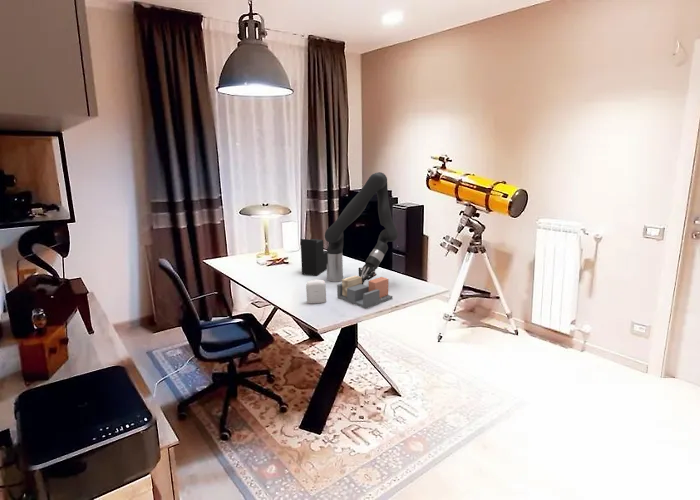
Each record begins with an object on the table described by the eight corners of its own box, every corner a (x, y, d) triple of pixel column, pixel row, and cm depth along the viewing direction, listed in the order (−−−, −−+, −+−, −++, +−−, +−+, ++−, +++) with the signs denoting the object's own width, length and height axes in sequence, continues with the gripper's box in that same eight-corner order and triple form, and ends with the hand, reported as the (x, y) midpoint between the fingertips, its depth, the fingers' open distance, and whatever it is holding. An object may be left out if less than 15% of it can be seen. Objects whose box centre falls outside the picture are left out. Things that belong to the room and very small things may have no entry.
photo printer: (306, 304, 224) (305, 281, 220) (306, 301, 228) (305, 279, 225) (326, 303, 224) (325, 280, 221) (326, 300, 229) (325, 278, 226)
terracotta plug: (368, 297, 227) (368, 280, 225) (381, 292, 234) (381, 276, 231) (375, 299, 223) (375, 283, 221) (388, 294, 230) (388, 278, 228)
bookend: (317, 265, 294) (316, 231, 289) (331, 266, 291) (330, 232, 285) (301, 275, 273) (299, 239, 268) (316, 276, 270) (315, 240, 264)
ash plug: (342, 295, 230) (342, 279, 228) (355, 290, 237) (355, 275, 235) (348, 297, 227) (348, 281, 225) (362, 292, 233) (361, 277, 231)
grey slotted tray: (337, 297, 232) (337, 284, 230) (363, 289, 245) (363, 276, 243) (365, 308, 216) (365, 294, 214) (392, 298, 229) (392, 285, 227)
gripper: (363, 253, 242) (347, 278, 237) (380, 257, 232) (364, 284, 227) (369, 260, 247) (354, 285, 242) (386, 264, 237) (371, 290, 232)
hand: (359, 284), depth 235 cm, fingers closed
